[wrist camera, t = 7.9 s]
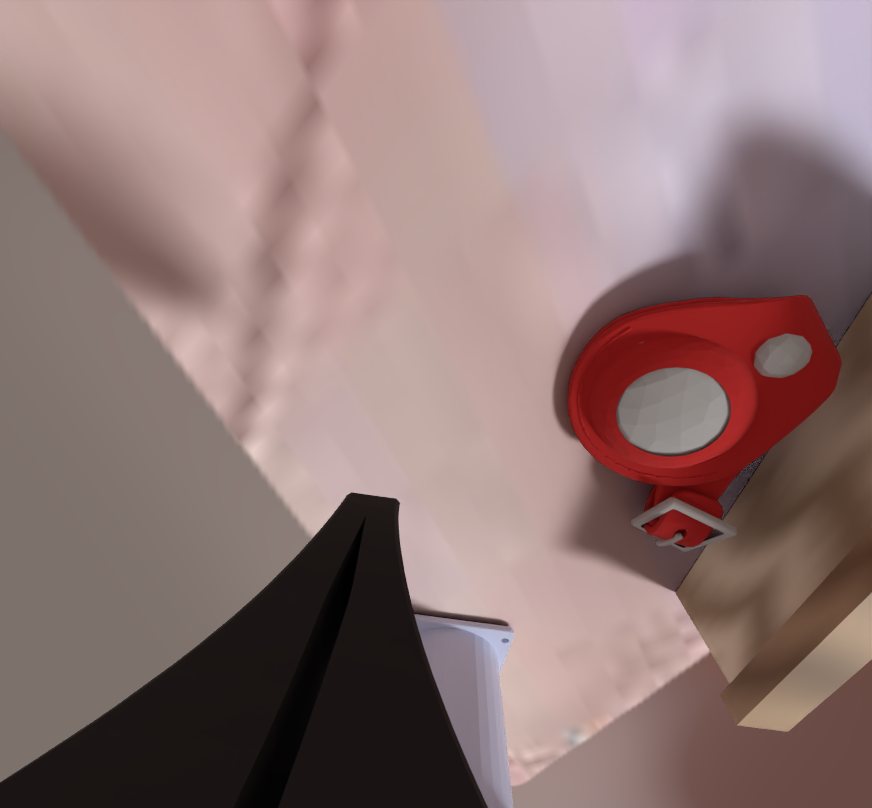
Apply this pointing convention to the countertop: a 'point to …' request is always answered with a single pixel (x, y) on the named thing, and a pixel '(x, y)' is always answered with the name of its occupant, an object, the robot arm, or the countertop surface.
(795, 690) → the wall board
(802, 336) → the tracker holder
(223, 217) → the countertop surface
